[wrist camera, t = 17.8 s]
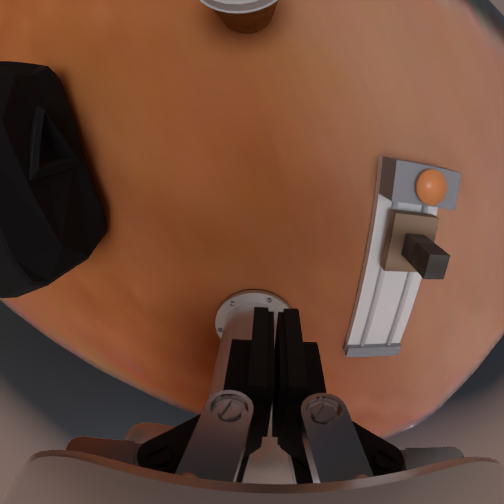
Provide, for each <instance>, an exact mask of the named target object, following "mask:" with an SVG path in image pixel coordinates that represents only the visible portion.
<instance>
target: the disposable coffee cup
mask: <svg viewBox="0 0 504 504" xmlns="http://www.w3.org/2000/svg"><path fill="white" fill-rule="evenodd" d="M200 1H201V2H202V3H204V4H205V5H206V6H208V7H209V8H212V9H213V10H214V11H215V12H216V13H217V14H218V15H219V16H220V17H221V18H222V20H224V22H225V23H226V24H227V25H228V26H229V27H230V28H231V29H233V30H235V31H237V32H241V33H253V32H257V31H259V30H262V29H263V28H265V27H266V26H267V25H268V24H269V22H270V21H271V18H272V15H273V13H274V10H275V8H276V5H277V3H278V0H200Z"/></svg>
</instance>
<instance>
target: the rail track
mask: <svg viewBox="0 0 504 504" xmlns="http://www.w3.org/2000/svg"><path fill="white" fill-rule="evenodd" d="M426 169H434V170H437V171H439V172H441V173H442V174H443V176H444V177H445V179H446V183H447V191H446V195H445V197H444V199H443V200H442V201H441V202H440V203H439V204H437V205H434V206H430V205H427V204H425V203H423V202H422V201H420V200H419V198H418V197H417V195H416V191H415V183H416V179H417V177H418V175H419V174H420V173H421V172H422V171H424V170H426ZM460 176H461V173H459V172H456V171H453V170H450V169H446V168H443V167H439V166H435V165H430V164H425V163H420V162H415V161H410V160H404V159H399V158H393V157H387V156H381V155H379V159H378V170H377V179H376V187H375V195H374V203H373V210H372V217H371V223H370V230H369V236H368V242H367V247H366V253H365V258H364V263H363V268H362V273H361V278H360V283H359V287H358V292H357V296H356V301H355V305H354V309H353V313H352V317H351V321H350V325H349V329H348V333H347V336H346V340H345V344H344V347H343V348H344V352H345V355H346V357H369V356H388V355H398V354H399V351H400V349H401V344H400V340H401V338H402V335H403V333H404V330H405V327H406V324H407V322H408V319H409V316H410V313H411V310H412V307H413V304H414V301H415V298H416V294H417V291H418V288H419V284H420V281H421V278H422V277H421V275H420V274H419V273H418V272H398V271H384V270H383V268H382V267H381V266H380V261H381V256H382V251H383V246H384V241H385V235H386V230H387V224H388V218H389V212H390V209H394V210H403V211H411V212H420V213H427V214H433V215H435V216H436V214H437V208H444V209H451V210H455V207H456V202H457V196H458V190H459V183H460Z"/></svg>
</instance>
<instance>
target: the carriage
mask: <svg viewBox="0 0 504 504" xmlns="http://www.w3.org/2000/svg"><path fill="white" fill-rule="evenodd" d="M438 222H439V218H438V217H436V216H435V215H433V214H427V213H420V212H411V211H403V210H394V209H390V212H389V218H388V224H387V230H386V235H385V241H384V246H383V251H382V256H381V261H380V266H381V267H382V268H383V270H384V271H398V272H418V273H419V274H420V275H421V277H422V278H423V279H444V275H445V272H446V269H447V265H448V262H449V258H450V255H449V254H447V253H446V252H445V251H444V250H442V249H441V248H440V247H439V246H438V245H436V244H435V243H434V240H435V236H436V231H437V226H438Z"/></svg>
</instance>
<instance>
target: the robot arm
mask: <svg viewBox="0 0 504 504" xmlns="http://www.w3.org/2000/svg"><path fill="white" fill-rule="evenodd" d="M215 328H216V332H217V334H218V336H219V338H220V339H221V341H220V346H219V351H218V355H217V360H216V364H215V369H214V373H213V378H212V383H211V387H210V392H209V397H208V400H207V402H206V404H205V406H204V409H203V411H202V413H201V414H200V415H198V416H196V417H194V418H192V419H190V420H188V421H186V422H185V423H183V424H181V425H179V426H177V427H172V426H166V425H162V424H155V423H140V424H137V425H134V426H133V427H131V428H130V429H129V430H128V431H127V432H126V434H125V435H124V437H123V439H122V440H114V439H103V438H93V437H85V436H82V437H76V438H74V439H72V440H71V441H70V442H69V443H68V445H67V447H66V450H47V451H40V452H38V453H35V454H33V455H32V456H30V457H29V458H28V459H27V460H26V461H25V462H24V463H23V464H22V466H21V467H20V469H19V470H18V471H17V473H16V474H15V476H14V478H13V480H12V481H11V483H10V485H9V487H8V489H7V491H6V493H5V495H4V497H3V500H2V501H1V504H504V464H502V463H501V462H500V461H498V460H496V459H492V458H487V457H464V455H463V453H462V452H461V451H460V450H459V449H457V448H455V447H430V448H405V450H399V449H398V448H396V447H395V446H393V445H392V444H390V443H388V442H387V441H385V440H383V439H381V438H380V437H378V436H376V435H375V434H373V433H371V432H370V431H368V430H366V429H365V428H363V427H361V426H360V425H358V424H356V423H355V422H353V421H352V420H351V417H350V415H349V412H348V410H347V407H346V405H345V404H344V402H343V401H342V400H341V399H340V398H338V397H337V396H334V395H332V394H328V393H326V388H325V382H324V376H323V371H322V365H321V360H320V354H319V349H318V345H317V343H316V342H303V340H302V332H301V325H300V318H299V311H298V309H291V308H290V306H289V305H288V304H287V303H286V302H285V301H284V300H283V299H282V298H280V297H279V296H277V295H275V294H273V293H270V292H266V291H262V290H246V291H242V292H238V293H236V294H234V295H232V296H230V297H229V298H227V299H226V300H225V301H224V302H223V303H222V304H221V305H220V307H219V309H218V311H217V314H216V318H215Z"/></svg>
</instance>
